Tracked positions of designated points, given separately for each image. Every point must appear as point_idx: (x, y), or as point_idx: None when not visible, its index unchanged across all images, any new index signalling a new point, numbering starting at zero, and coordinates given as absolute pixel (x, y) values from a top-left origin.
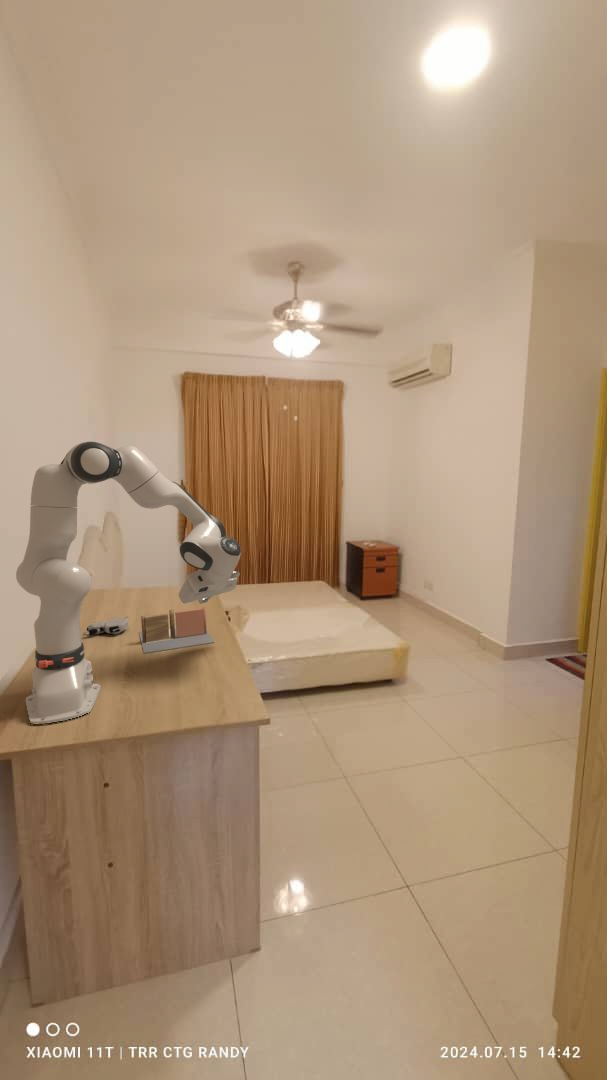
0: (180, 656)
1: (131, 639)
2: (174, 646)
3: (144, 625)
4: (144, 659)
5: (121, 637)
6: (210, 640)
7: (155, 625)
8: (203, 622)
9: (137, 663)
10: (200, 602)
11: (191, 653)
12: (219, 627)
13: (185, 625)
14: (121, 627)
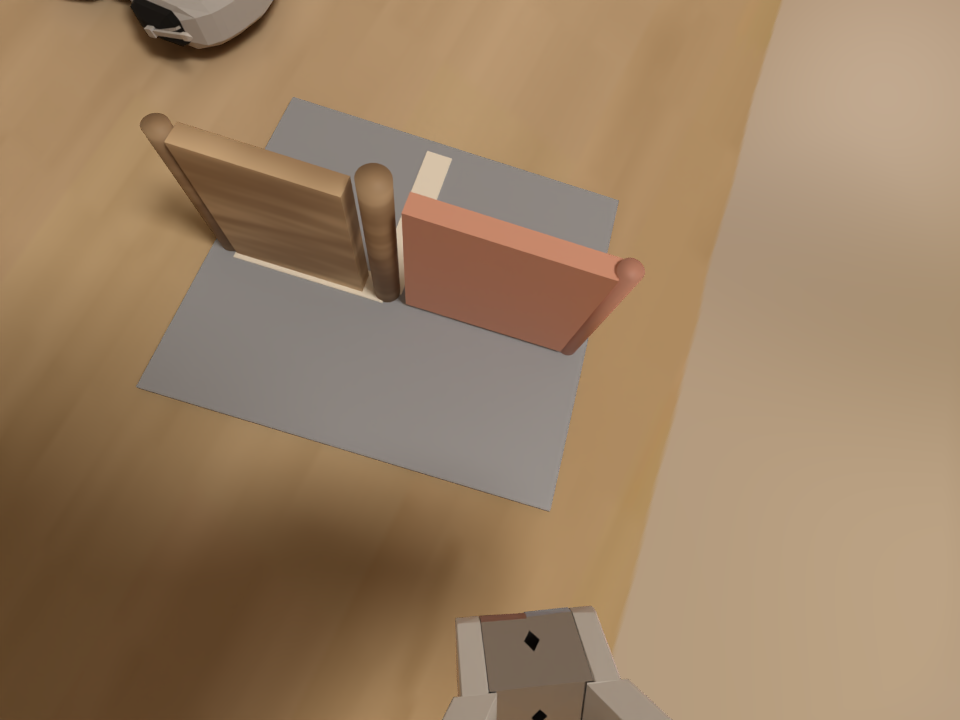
0: (276, 584)
1: None
2: (327, 414)
3: (188, 182)
4: (87, 474)
5: (192, 94)
6: (544, 471)
7: (263, 213)
8: (580, 324)
9: (16, 507)
10: (458, 693)
11: (355, 583)
12: (677, 305)
13: (461, 289)
14: (181, 37)
